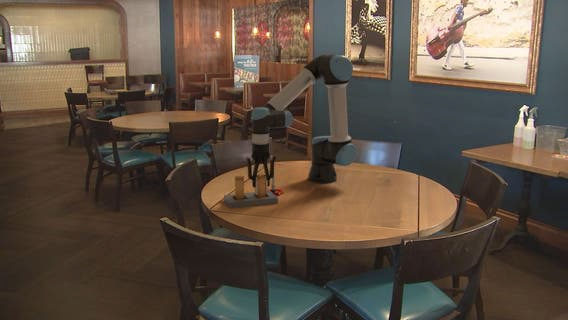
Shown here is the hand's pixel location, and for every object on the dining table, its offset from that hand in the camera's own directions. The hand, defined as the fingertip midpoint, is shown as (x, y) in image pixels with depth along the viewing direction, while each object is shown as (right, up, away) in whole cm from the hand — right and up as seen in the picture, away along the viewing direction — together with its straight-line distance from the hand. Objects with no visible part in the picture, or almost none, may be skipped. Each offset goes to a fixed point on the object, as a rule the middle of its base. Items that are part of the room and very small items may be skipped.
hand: (261, 193), depth 221 cm
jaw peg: (0, -3, +1) cm, 4 cm away
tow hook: (+6, -1, +14) cm, 15 cm away
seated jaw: (-9, -4, -2) cm, 11 cm away
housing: (-5, -4, -1) cm, 6 cm away
